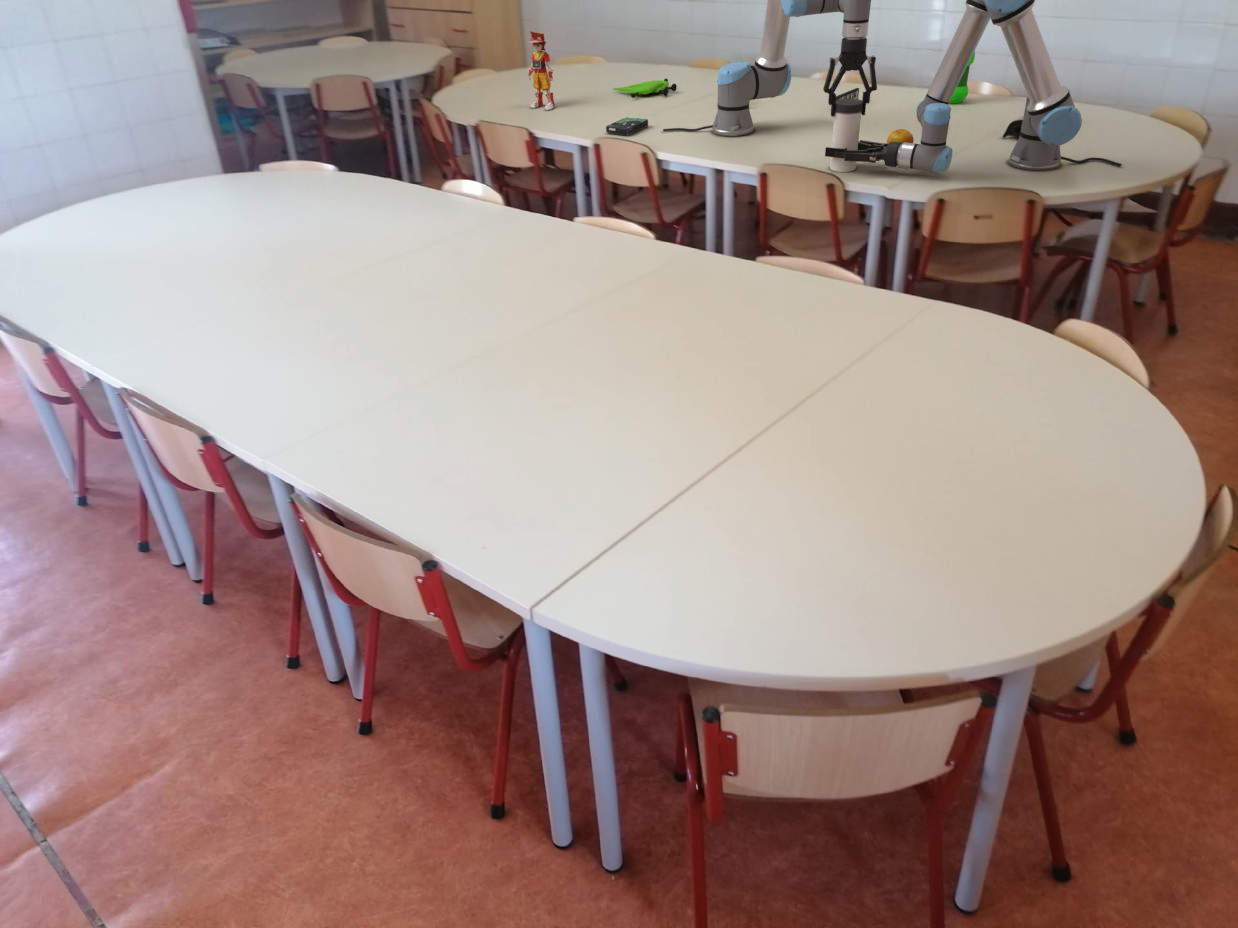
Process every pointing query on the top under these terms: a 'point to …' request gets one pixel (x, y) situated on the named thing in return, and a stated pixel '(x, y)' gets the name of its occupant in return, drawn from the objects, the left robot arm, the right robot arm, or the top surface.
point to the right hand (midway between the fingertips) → (830, 148)
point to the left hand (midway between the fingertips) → (847, 115)
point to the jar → (845, 139)
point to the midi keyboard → (849, 94)
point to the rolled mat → (1014, 128)
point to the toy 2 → (648, 88)
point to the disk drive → (627, 126)
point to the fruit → (900, 136)
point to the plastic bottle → (962, 85)
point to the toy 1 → (541, 71)
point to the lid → (848, 105)
